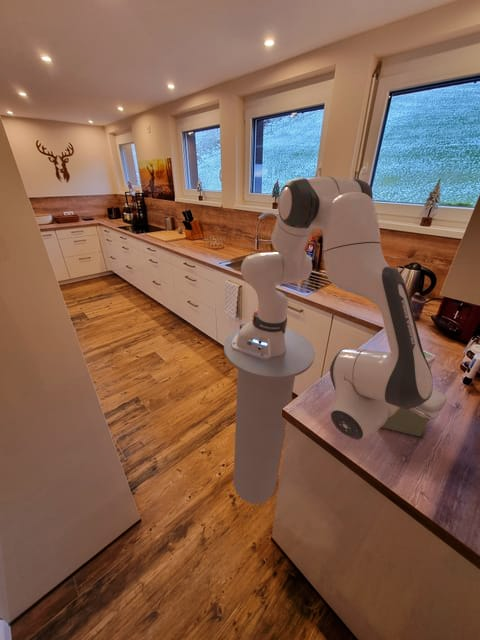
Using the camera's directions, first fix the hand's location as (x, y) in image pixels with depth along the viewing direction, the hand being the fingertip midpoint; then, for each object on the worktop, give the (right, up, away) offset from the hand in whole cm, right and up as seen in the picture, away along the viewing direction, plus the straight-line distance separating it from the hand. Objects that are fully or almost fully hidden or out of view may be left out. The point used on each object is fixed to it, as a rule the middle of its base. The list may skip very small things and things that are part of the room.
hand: (409, 371), depth 69 cm
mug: (+47, +16, +71) cm, 87 cm away
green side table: (+2, -16, +11) cm, 19 cm away
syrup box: (+2, -8, +7) cm, 11 cm away
